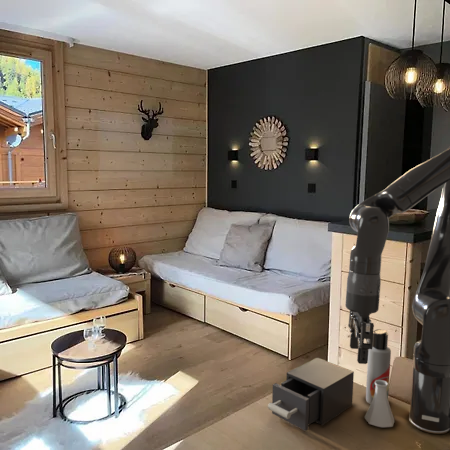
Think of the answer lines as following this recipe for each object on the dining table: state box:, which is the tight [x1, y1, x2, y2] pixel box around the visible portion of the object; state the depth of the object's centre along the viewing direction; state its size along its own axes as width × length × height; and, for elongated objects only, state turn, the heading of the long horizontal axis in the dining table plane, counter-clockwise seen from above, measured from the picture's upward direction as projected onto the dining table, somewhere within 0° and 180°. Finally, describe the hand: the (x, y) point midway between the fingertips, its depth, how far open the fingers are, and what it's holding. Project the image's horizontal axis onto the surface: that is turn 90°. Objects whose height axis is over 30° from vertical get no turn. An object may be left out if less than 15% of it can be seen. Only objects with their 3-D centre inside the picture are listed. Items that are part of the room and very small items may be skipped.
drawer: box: [267, 378, 321, 432], centre depth 113 cm, size 17×10×8 cm, turn 133°
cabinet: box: [285, 357, 355, 426], centre depth 119 cm, size 14×12×10 cm
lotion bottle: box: [365, 328, 392, 405], centre depth 121 cm, size 6×6×20 cm
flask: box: [364, 380, 395, 428], centre depth 113 cm, size 7×7×10 cm
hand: (358, 355), depth 108 cm, fingers open, 8 cm apart
